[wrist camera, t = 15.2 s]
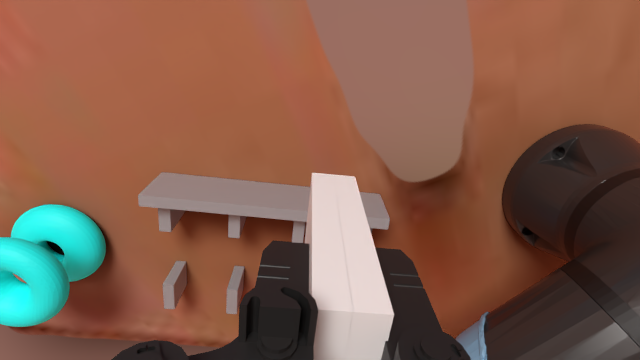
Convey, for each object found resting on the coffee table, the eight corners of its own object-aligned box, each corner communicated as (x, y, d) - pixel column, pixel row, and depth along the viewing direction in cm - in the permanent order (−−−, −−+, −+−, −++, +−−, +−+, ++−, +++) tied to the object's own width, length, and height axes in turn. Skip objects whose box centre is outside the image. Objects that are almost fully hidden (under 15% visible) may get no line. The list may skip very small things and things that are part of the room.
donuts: (55, 342, 37) (-52, 321, 36) (107, 279, 46) (23, 260, 45) (59, 264, 33) (-60, 237, 32) (114, 212, 42) (23, 190, 41)
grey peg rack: (379, 194, 42) (389, 219, 36) (357, 305, 48) (363, 341, 43) (161, 172, 40) (138, 195, 35) (168, 290, 47) (148, 325, 41)
